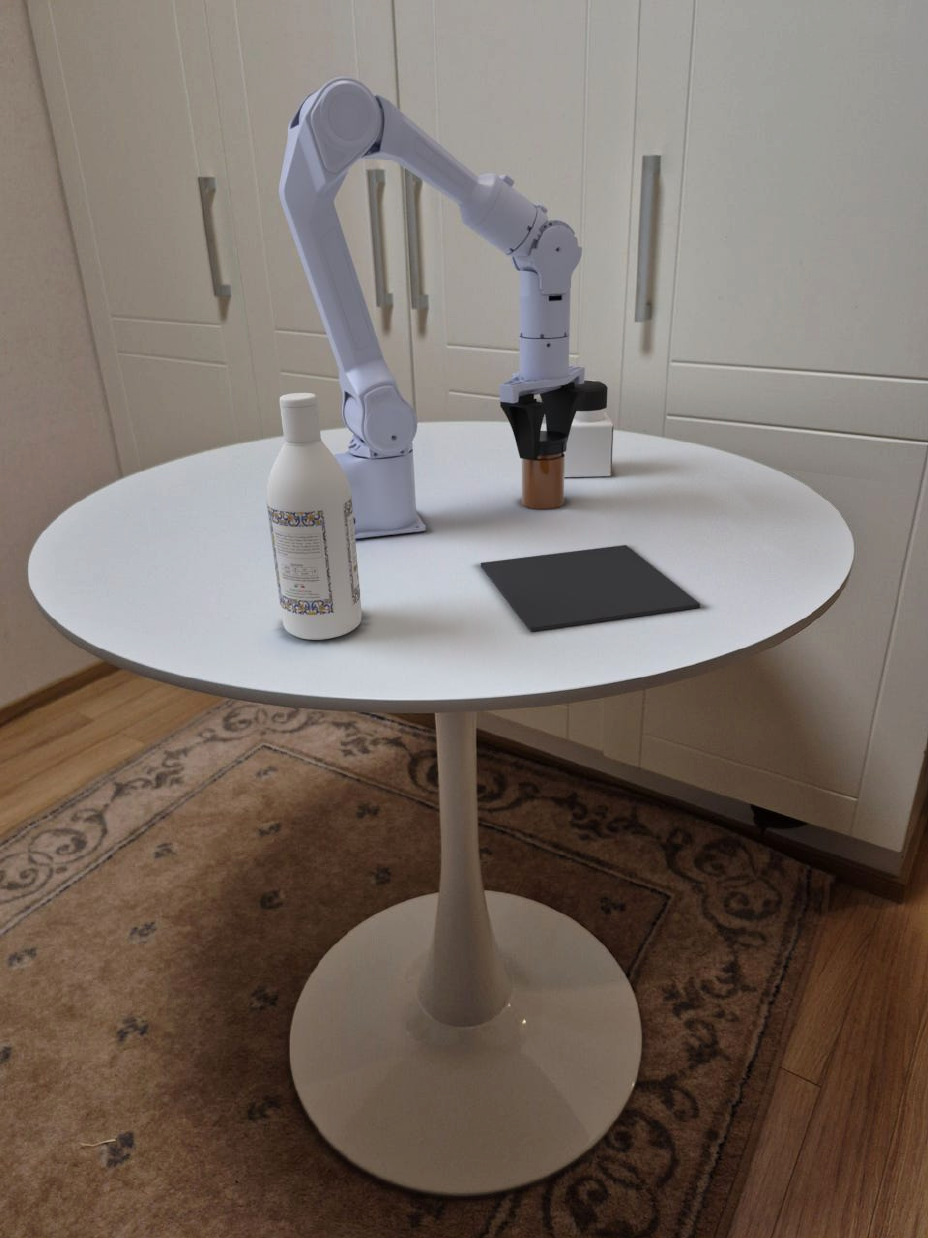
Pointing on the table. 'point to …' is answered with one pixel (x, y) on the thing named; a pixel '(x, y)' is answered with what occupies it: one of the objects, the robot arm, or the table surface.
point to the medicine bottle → (590, 435)
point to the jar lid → (552, 443)
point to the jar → (543, 481)
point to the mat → (585, 587)
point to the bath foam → (312, 529)
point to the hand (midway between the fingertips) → (543, 453)
